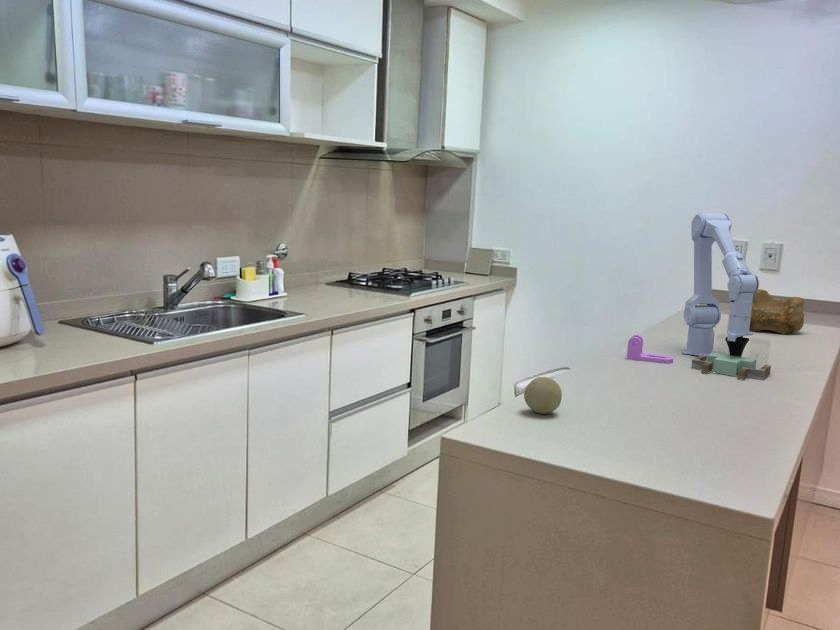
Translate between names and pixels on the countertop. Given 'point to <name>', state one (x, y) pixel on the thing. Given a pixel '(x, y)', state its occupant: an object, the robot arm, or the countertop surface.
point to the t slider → (729, 363)
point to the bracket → (636, 353)
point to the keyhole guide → (742, 373)
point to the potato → (543, 395)
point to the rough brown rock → (776, 313)
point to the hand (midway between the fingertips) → (734, 362)
